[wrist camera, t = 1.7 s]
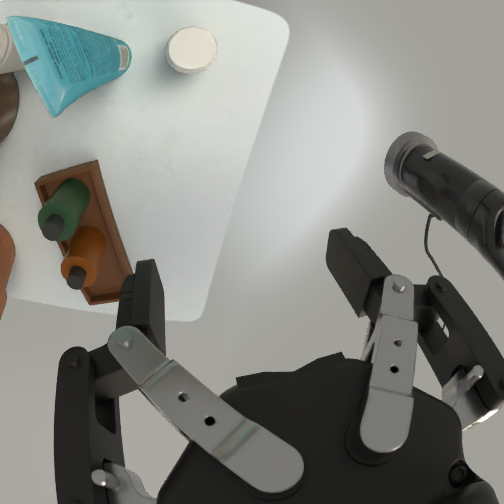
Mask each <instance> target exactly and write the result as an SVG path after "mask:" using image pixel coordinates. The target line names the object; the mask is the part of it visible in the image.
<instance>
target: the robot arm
mask: <svg viewBox="0 0 504 504" xmlns="http://www.w3.org/2000/svg"><path fill="white" fill-rule="evenodd" d="M398 178H399V182H400V184H401V186H402V187H403V188H404V189H405V190H406V192H407V194H408V195H409V196H410V197H411V198H413V199H414V200H415V201H416V202H418V203H419V204H420V205H421V206H423V207H424V208H425V209H426V210H427V211H429V212H430V213H431V214H429V216H428V220H427V224H426V229H425V238H424V245H425V251H426V253H427V255H428V257H429V258H430V259H431V261H432V263H433V264H434V266H435V268H436V270H437V271H438V273H439V275H440V276H437V275H436V276H432V277H430V278H429V279H428V282H427V284H426V285H415V284H414V285H413V284H412V282H411V281H410V280H409V279H407V278H406V277H404V276H401V275H393V274H392V273H391V272H390V270H389V269H388V268H387V267H386V266H385V264H384V263H383V262H382V261H381V259H380V258H379V257H378V256H376V253H375V252H374V251H373V250H372V249H371V247H370V246H369V245H368V244H367V243H366V242H365V241H363V240H362V239H360V238H359V237H354V236H353V235H352V234H351V232H350V231H349V230H348V229H347V228H340V229H334V230H331V231H330V233H329V238H328V245H327V252H326V263H327V267H328V269H329V270H330V272H331V274H332V275H333V276H334V278H335V280H336V282H337V283H338V285H339V286H340V288H341V289H342V291H343V293H344V295H345V296H346V298H347V299H348V301H349V303H350V304H351V306H352V308H353V309H354V311H355V313H356V314H357V316H358V318H359V317H363V316H366V315H367V316H368V317H369V319H370V322H369V326H368V330H367V335H366V339H365V344H364V348H363V352H362V356H361V359H360V360H358V359H349V358H348V359H345V357H344V355H343V353H342V352H339V353H336V354H332V355H329V356H325V357H322V358H318V359H316V360H314V361H312V362H311V363H309V364H307V365H305V366H303V367H302V368H299V369H298V370H296V371H293V372H261V373H256V374H251V375H246V376H241V377H236V381H237V385H235V386H233V387H231V388H230V389H228V390H226V391H225V392H224V393H222V394H221V395H220V396H219V397H218V396H217V395H216V394H214V393H213V392H212V391H211V390H209V389H208V388H207V387H206V386H205V385H203V384H202V383H201V382H200V381H199V380H197V379H196V378H195V377H194V376H193V375H192V374H191V373H189V372H188V371H187V370H186V369H185V368H184V367H183V366H181V365H180V364H179V363H178V362H177V361H175V360H169V359H168V358H167V357H166V348H165V347H166V346H165V308H164V290H163V286H162V282H161V279H160V276H159V273H158V270H157V266H156V263H155V260H154V259H149V260H143V261H137V264H136V271H135V274H129V275H127V277H126V278H125V280H124V281H123V283H122V287H121V295H120V302H119V307H118V314H117V323H116V330H115V331H114V332H113V333H112V334H111V335H110V337H109V339H108V343H107V344H105V345H104V346H102V347H100V348H97V349H95V350H92V351H90V352H87V350H86V349H84V348H82V347H72V348H70V349H68V350H67V351H65V352H64V354H63V355H62V356H61V359H60V361H59V367H58V376H57V386H56V398H55V414H54V467H55V482H56V493H57V501H58V504H499V502H498V499H497V497H496V494H495V492H494V489H493V488H492V487H491V486H490V484H488V483H487V482H486V481H484V480H483V479H481V478H480V477H479V476H477V475H476V474H475V473H474V472H473V471H472V470H471V469H470V468H469V467H468V465H467V464H466V462H465V459H464V454H463V447H462V432H463V431H464V430H466V429H471V428H474V427H475V426H476V425H478V424H479V423H480V422H482V421H484V420H486V419H487V418H489V417H490V416H491V415H493V414H494V413H495V412H496V411H498V410H499V409H500V408H501V407H502V406H503V405H504V358H503V357H502V355H501V353H500V352H499V350H498V348H497V347H496V345H495V344H494V342H493V341H492V339H491V338H490V336H489V335H488V333H487V332H486V330H485V329H484V327H483V326H482V324H481V323H480V321H479V320H478V318H477V317H476V316H475V314H474V313H473V311H472V310H471V309H470V307H469V306H468V305H467V303H466V302H465V301H464V299H463V298H462V297H461V295H460V294H459V293H458V291H457V290H456V289H455V287H454V286H453V285H452V284H451V282H449V281H448V280H447V279H446V278H444V277H443V276H442V273H441V271H440V270H439V268H438V266H437V264H436V263H435V261H434V259H433V257H432V256H431V255H430V253H429V251H428V246H427V238H428V230H429V225H430V221H431V217H436V218H437V219H438V220H440V221H441V220H445V221H446V222H447V223H448V224H449V225H450V226H452V227H453V228H454V229H455V230H456V231H457V232H458V233H459V234H461V235H462V236H463V237H464V238H465V239H466V240H467V241H468V242H469V243H470V244H471V245H472V246H473V247H474V248H475V249H476V250H477V251H478V252H479V253H480V254H481V255H482V256H483V257H484V259H485V260H486V261H487V262H488V263H489V264H490V265H491V266H492V267H493V268H494V269H495V271H496V272H497V273H498V274H499V275H500V276H501V278H502V279H503V280H504V192H502V191H501V190H499V189H498V188H496V187H495V186H494V185H492V184H491V183H489V182H488V181H486V180H485V179H483V178H482V177H480V176H479V175H477V174H476V173H474V172H473V171H471V170H469V169H468V168H466V167H465V166H463V165H462V164H460V163H458V162H457V161H455V160H453V159H452V158H450V157H448V156H446V155H445V154H443V153H441V152H439V151H438V150H436V149H434V148H432V147H431V146H429V145H428V144H425V143H417V144H414V145H412V146H411V147H410V148H408V150H407V151H406V152H405V153H404V155H403V156H402V158H401V161H400V164H399V168H398ZM439 317H440V318H441V319H442V321H443V322H444V325H443V328H441V326H440V325H439V323H438V322H437V320H438V319H439ZM445 325H446V327H447V328H448V331H449V338H448V337H447V336H446V334H445V333H444V331H443V330H444V327H445ZM417 342H418V344H419V346H420V347H421V349H422V351H423V353H424V355H425V356H426V358H427V360H428V362H429V364H430V365H431V367H432V369H433V371H434V373H435V375H436V377H437V379H438V381H439V382H440V384H441V386H442V388H443V389H442V398H443V399H442V400H439V399H437V398H435V397H433V396H431V395H429V394H427V393H425V392H423V391H421V390H420V389H418V388H416V387H414V386H413V380H414V372H415V362H416V351H417V350H416V349H417ZM136 389H138V390H139V391H140V392H141V393H142V394H143V395H144V396H145V397H146V399H147V400H148V401H149V402H150V403H151V404H152V405H153V406H154V407H155V408H156V409H157V410H158V411H159V412H160V413H161V414H162V416H163V417H164V418H165V419H166V420H167V421H168V422H169V423H170V424H171V425H172V426H173V427H174V428H175V429H176V430H177V431H178V432H179V433H180V434H181V435H182V436H184V437H185V438H186V439H187V440H188V441H189V444H188V445H187V447H186V448H185V450H184V452H183V453H182V455H181V457H180V458H179V460H178V461H177V463H176V465H175V466H174V468H173V469H172V471H171V473H170V474H169V476H168V477H167V479H166V481H165V482H164V484H163V485H162V487H161V489H160V491H159V493H158V497H157V499H155V498H153V497H152V496H150V495H149V494H148V493H147V492H146V491H145V488H144V486H143V484H142V481H141V479H140V478H139V476H138V475H137V474H135V473H134V472H132V471H130V470H128V469H126V468H125V462H124V455H123V446H122V437H121V425H120V412H119V411H120V410H119V396H122V395H124V394H127V393H129V392H132V391H134V390H136Z"/></svg>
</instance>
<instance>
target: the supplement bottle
mask: <svg viewBox="0 0 504 504" xmlns="http://www.w3.org/2000/svg"><path fill="white" fill-rule="evenodd" d="M217 52H218V45H217V42H216V39H215V37H214V36H213V35H212V34H211V33H210V32H209V31H207V30H206V29H203V28H200V27H187V28H183V29H181V30H179V31H177V32H176V33H175V34H173V35H172V37H171V38H170V39H169V41H168V43H167V45H166V58H167V61H168V63H169V64H170V66H171V67H172V68H174V69H175V70H177V71H179V72H181V73H185V74H194V73H198V72H201V71H203V70H205V69H207V68H208V67H209V66H210V65H211V64H212V63H213V62H214V60H215V58H216V56H217Z"/></svg>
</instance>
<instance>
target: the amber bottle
mask: <svg viewBox="0 0 504 504" xmlns="http://www.w3.org/2000/svg"><path fill="white" fill-rule="evenodd" d="M105 246H106V239H105V236H104V234H103V233H102V232H101V231H100V230H99V229H98V228H96V227H93V226H83V227H81V228H79V229H78V230H77V231H76V233H75V235H74V237H73V239H72V241H71V244H70V246H69V248H68V250H67V252H66V255H65V257H64V259H63V261H62V264H61V272H62V275H63V277H64V278H65V279H66V280H67V284H68V286H69V287H71V288H72V289H75V290H79V289H81V288H82V287H88V286H90V285H92V284H93V283H94V282H95V280H96V277H97V274H98V270H99V267H100V263H101V260H102V256H103V253H104V250H105Z"/></svg>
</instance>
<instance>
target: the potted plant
mask: <svg viewBox="0 0 504 504" xmlns="http://www.w3.org/2000/svg"><path fill="white" fill-rule="evenodd" d="M14 257H15V247H14V243H13V240H12V238H11V237H10V235H9V233H8V232H7V231H6V230H5V229H4V228H3V226H1V225H0V319H1V316H2V314H3V311H4V308H5V305H6V300H7V293H6V286H7V282H8V278H9V275H10V271H11V268H12V264H13V261H14Z"/></svg>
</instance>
